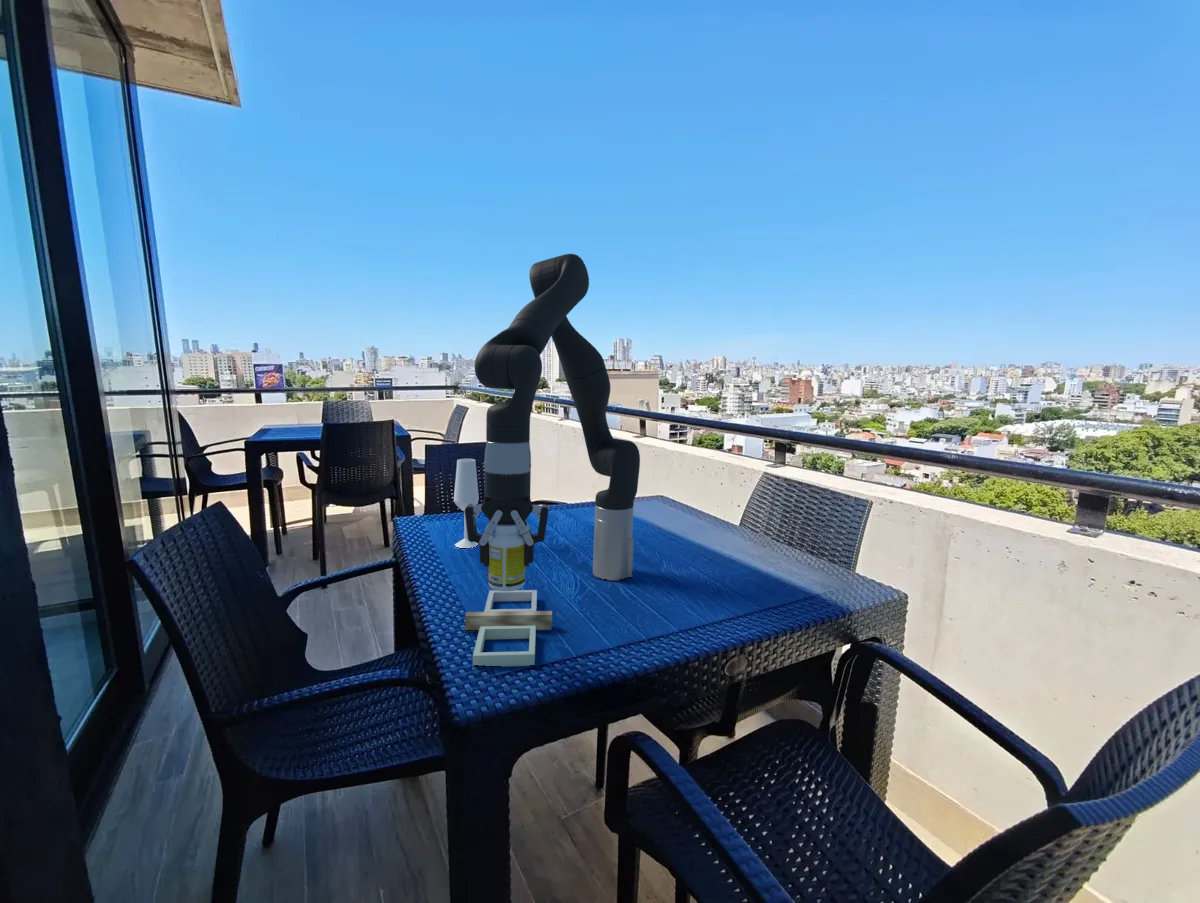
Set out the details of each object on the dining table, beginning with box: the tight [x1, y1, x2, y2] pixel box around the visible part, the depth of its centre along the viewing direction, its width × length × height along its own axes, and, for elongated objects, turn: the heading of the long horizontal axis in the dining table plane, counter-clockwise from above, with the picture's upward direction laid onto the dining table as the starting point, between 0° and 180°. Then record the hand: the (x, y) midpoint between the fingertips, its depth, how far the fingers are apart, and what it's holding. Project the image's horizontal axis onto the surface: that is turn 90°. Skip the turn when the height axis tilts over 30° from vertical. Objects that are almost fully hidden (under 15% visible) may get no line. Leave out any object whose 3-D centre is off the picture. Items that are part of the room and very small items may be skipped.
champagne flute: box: [453, 458, 480, 549], centre depth 143 cm, size 7×7×24 cm
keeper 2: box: [472, 626, 537, 667], centre depth 90 cm, size 10×10×2 cm
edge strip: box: [464, 610, 553, 632], centre depth 98 cm, size 16×2×3 cm, turn 96°
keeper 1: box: [483, 589, 538, 612], centre depth 106 cm, size 10×10×2 cm
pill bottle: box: [488, 525, 526, 591], centre depth 88 cm, size 6×6×11 cm
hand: (506, 564), depth 88 cm, fingers closed on pill bottle, 6 cm apart
